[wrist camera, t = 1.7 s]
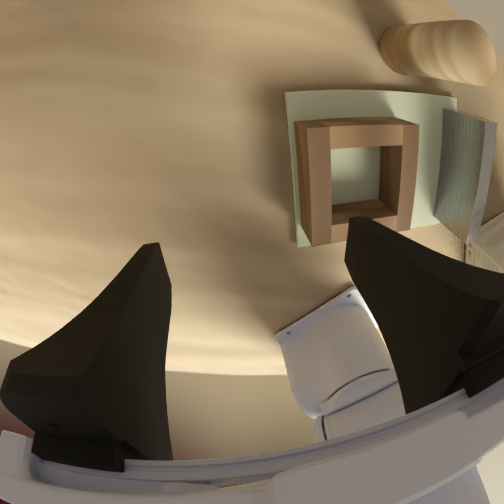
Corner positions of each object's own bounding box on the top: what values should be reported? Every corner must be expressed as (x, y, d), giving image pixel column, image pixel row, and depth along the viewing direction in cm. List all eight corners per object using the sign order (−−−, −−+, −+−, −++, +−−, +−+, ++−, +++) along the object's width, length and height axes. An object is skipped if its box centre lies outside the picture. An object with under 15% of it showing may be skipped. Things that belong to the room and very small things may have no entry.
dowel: (396, 82, 18) (469, 96, 11) (370, 37, 16) (441, 30, 9) (428, 63, 17) (502, 73, 10) (405, 20, 15) (478, 13, 8)
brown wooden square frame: (300, 226, 23) (312, 246, 20) (293, 121, 18) (306, 128, 16) (391, 212, 23) (410, 229, 20) (396, 117, 19) (419, 124, 16)
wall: (433, 215, 24) (465, 244, 20) (442, 108, 18) (485, 121, 14) (444, 214, 24) (476, 241, 20) (455, 109, 18) (496, 123, 14)
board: (296, 244, 24) (298, 247, 24) (284, 92, 18) (286, 92, 17) (441, 219, 25) (444, 222, 24) (452, 96, 18) (456, 97, 18)
